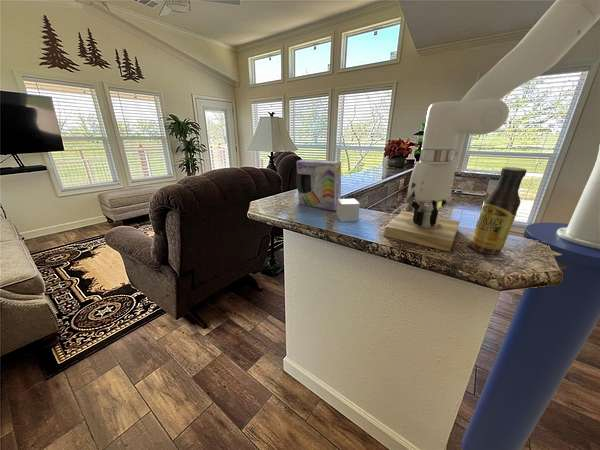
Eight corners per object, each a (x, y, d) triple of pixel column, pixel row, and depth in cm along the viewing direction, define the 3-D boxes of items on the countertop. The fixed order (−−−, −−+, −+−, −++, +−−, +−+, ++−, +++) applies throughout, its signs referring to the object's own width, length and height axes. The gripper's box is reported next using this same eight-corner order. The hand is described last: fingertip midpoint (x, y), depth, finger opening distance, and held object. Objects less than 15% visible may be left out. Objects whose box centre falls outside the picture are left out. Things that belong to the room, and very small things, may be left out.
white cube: (340, 221, 77) (341, 204, 75) (336, 215, 83) (337, 199, 81) (358, 220, 78) (359, 203, 76) (353, 214, 83) (354, 198, 81)
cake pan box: (295, 203, 98) (294, 159, 91) (303, 200, 101) (303, 158, 95) (333, 212, 86) (335, 163, 79) (341, 209, 89) (343, 161, 83)
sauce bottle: (463, 246, 60) (485, 166, 52) (481, 242, 61) (504, 165, 54) (490, 258, 54) (519, 171, 46) (509, 253, 56) (539, 169, 48)
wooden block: (400, 219, 78) (402, 210, 77) (457, 230, 69) (459, 220, 68) (384, 236, 66) (385, 226, 65) (449, 251, 57) (452, 240, 56)
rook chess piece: (410, 230, 68) (415, 204, 65) (418, 227, 70) (423, 201, 67) (426, 235, 64) (432, 208, 61) (433, 231, 67) (439, 205, 64)
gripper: (455, 153, 64) (441, 217, 71) (398, 156, 62) (389, 220, 69) (478, 156, 57) (460, 226, 64) (415, 159, 55) (403, 230, 62)
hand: (423, 222), depth 66 cm, fingers closed on rook chess piece, 3 cm apart
